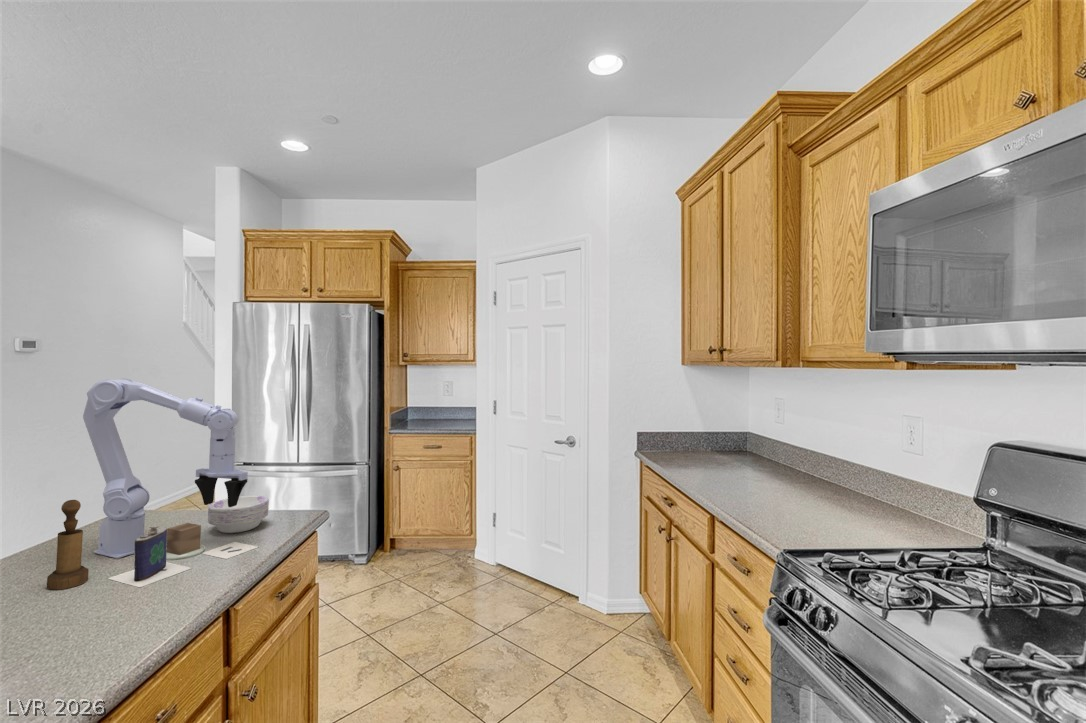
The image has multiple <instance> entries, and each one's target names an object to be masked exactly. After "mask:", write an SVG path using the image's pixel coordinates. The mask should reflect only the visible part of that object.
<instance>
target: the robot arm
mask: <svg viewBox="0 0 1086 723" xmlns="http://www.w3.org/2000/svg"><path fill="white" fill-rule="evenodd" d="M86 395H87V401H86V404H85V407H84V411H83V414H82V418H83V421H84V424H85V428H86V430H87V434H88V436H89V439H90V442H91V444H92V447H93V450H94V452H95V456H96V459H97V461H98V464H99V467H100V469H101V473H102V475H103V478H104V481H105V488H104V490H103V492H102V495H103V498H104V501H103V506H102V508H103V509H102V510H103V513H104V514H105V516H106V517H105V518H104V519H103V520H102V521H101V523H100V525H99V528H98V529H99V530H98V549H96V550H94V551H93V553H94V554H98V555H101V556H106V557H110V558H114V559H120V558H124V557H126V556H129V555H130V556H131V555H132V554H133V555H134V554H135V540H136V539H137V538H140V536H145V520H146V519H145V518H146V517H145V516H146V511H145V509H144V508H145V507H146V506H147V505H148V503H149V501H150V492H149V491H148V490H147V488H145V487H144V486H143V485H142V482H141V480H140V479H139V478H137V477H136V476H135V475H134V473H133V471H132V468H131V465H130V462H129V460H128V458H127V454H126V451H125V448H124V446H123V442H122V439H121V436H120V434H119V431H118V428H117V425H116V422H115V420H114V417H116V416H117V415H118V413H119V411H120V410H121V409H122V408H123V407H124V406H126V405H127V404H129V403H131V402H135V401H143V402H148V403H152V404H154V405H157V406H161V407H163V408H167V409H170V410H173V411H176V412H177V413H178V416H179V418H181V419H184V420H187V421H189V422H192V423H195V424H199V425H201V426H203V427H208V429H209V430H210V439H209V456H208V457H209V461H208V468H198V469H195V477H196V479H195V480H194V484H195V485H196V486H197V487H198V489H199V492H200V495H201V498H202V501H203V504H204V506H207V505H208V506H209V505H210V504H212V503H214V499H215V489H216V485H217V482H218V479H227V481H224V482H223V483H224V486H225V489H226V494H227V499H228V507H233V506H236V505H237V502H238V499H239V497H241V496H240V495H241V493H242V490H243V489H244V488H245V486H246V484H247V483H248V471H242V470H238V469H235V461H236V460H235V459H236V458H235V456H236V426H237V424H238V423H239V416H238V414H237V413H236V411H234V410H233V409H231V408H222V406H221V405H219V404H217V405H214V404H211V403H208V402H206V401H203V400H204V398H202V397H190V398H186V399H184V398H181V397H178V396H177V395H174V394H170V393H169V392H166V391H163V390H162V389H158V388H156V387H153V386H151V385H149V384H147V383H143V382H141V381H134V380H131V379H129V378H120V379H118V378H117V379H101V380H99V381H97V382H96V383H94V384H93V385H92V387H91V388H90V389H89V390H87V392H86Z"/></svg>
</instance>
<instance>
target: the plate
mask: <svg viewBox="0 0 1086 723" xmlns="http://www.w3.org/2000/svg"><path fill="white" fill-rule="evenodd" d="M205 549H206V548H205V546H204V545H203V544H200V549H198V550H195V551H192V552H189V553H186V554H183V555H176V554H171V553H167V552H166V561H169V560H170V561H174V560H175V561H177V560H184V559H188V558H192V557H193V558H194V557H196V556H199V555H200V554H201V553H204V552H205ZM201 555H202V554H201Z"/></svg>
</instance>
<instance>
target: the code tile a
mask: <svg viewBox="0 0 1086 723" xmlns="http://www.w3.org/2000/svg"><path fill="white" fill-rule="evenodd" d="M192 569H193V568H192V567H188V566H185V565H182V564H176V563H172V562H168V561H166V566H165V568H163V569H162V570H161V571H159V572H158V573H156V574H155V575H153V576H151V577H150V578H148V579H145V580H142V581H135V582H134V571H135V568H134V569H132V570H128V571H125V572H123V573H120V574H117V575H114V576H110V577H108V578H107V580H110V581H114V582H118V583H120V584H121V583H122V584H125V585H129V586H132V587H135V588H143V587H145V586H148V585H150V584H154V583H157V582H159V581H161V580H165V579H167V578H170V577H172V576H175V575H178V574H181V573H184V572H186V571H189V570H192Z"/></svg>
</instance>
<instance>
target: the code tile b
mask: <svg viewBox="0 0 1086 723" xmlns="http://www.w3.org/2000/svg"><path fill="white" fill-rule="evenodd" d="M257 548H259V546H258V545H252V544H247V543H242V542H238V541H233V542H230V543H227V544H225V545H221V546H219V547H215V548H213V549H209V550H207V551H204V552H202V553H201V555H205V556H211V557H215V558H219V559H224V560H228V559H231V558H234V557H236V556H238V555H239V556H240V555H242V554H244V553H246V552H249V551H252V550H255V549H257Z"/></svg>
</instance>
